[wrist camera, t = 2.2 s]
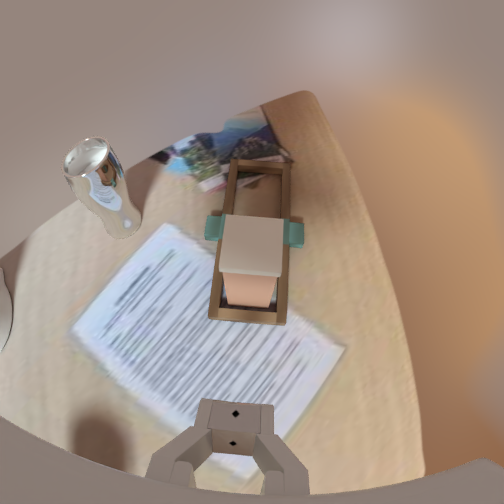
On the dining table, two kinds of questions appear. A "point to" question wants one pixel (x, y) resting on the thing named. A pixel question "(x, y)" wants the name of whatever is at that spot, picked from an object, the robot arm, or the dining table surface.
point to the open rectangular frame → (291, 238)
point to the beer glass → (101, 185)
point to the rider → (251, 259)
